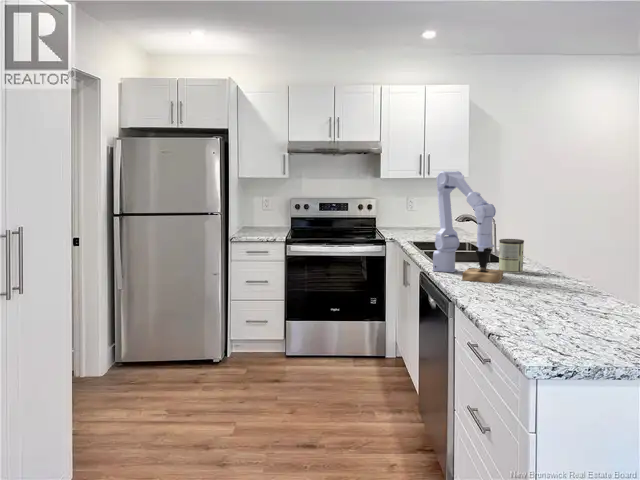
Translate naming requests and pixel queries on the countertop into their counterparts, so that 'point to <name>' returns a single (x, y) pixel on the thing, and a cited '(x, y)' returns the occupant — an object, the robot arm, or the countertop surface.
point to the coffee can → (511, 255)
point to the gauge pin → (483, 269)
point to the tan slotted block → (482, 275)
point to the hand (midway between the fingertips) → (483, 266)
